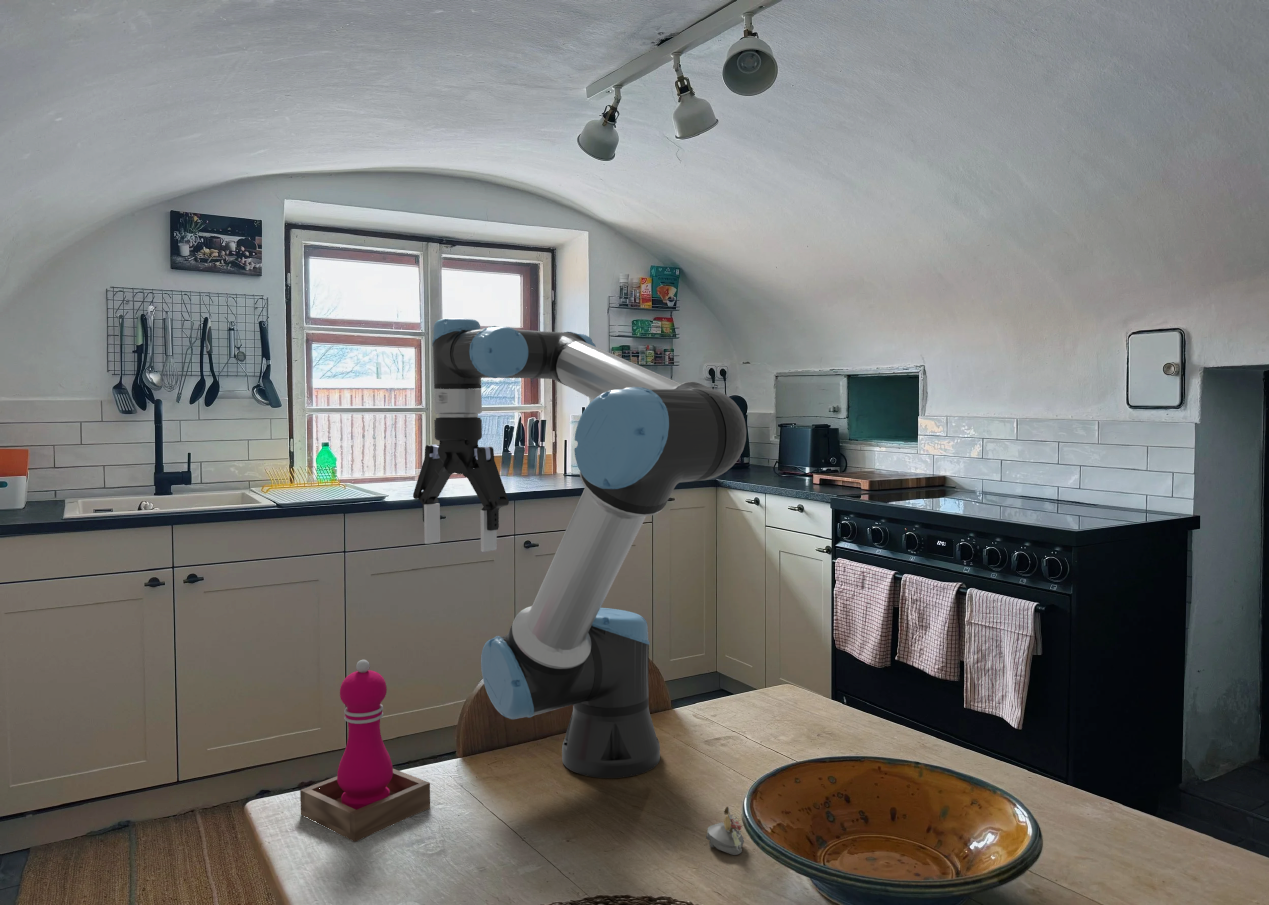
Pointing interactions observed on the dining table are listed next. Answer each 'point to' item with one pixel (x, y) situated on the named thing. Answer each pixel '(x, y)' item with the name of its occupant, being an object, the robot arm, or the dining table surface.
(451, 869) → the dining table surface
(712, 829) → the figurine
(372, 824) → the holder tray
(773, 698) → the dining table surface
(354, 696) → the pepper mill
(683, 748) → the dining table surface
